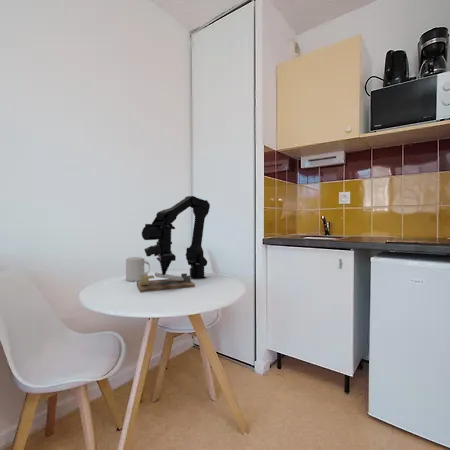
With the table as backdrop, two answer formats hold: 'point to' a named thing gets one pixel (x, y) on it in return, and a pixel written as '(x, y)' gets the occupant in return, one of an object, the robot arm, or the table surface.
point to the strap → (170, 276)
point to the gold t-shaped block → (145, 279)
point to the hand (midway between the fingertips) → (163, 274)
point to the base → (166, 284)
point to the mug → (135, 268)
